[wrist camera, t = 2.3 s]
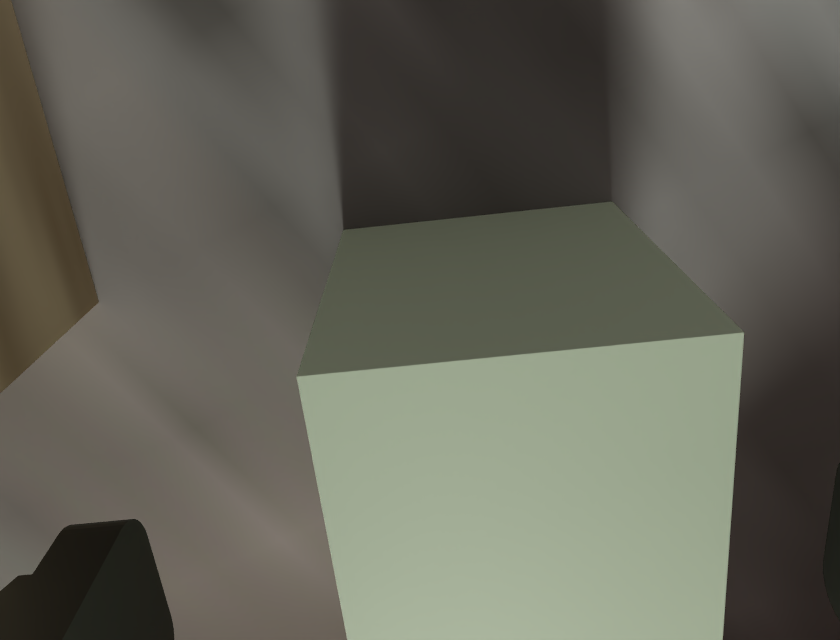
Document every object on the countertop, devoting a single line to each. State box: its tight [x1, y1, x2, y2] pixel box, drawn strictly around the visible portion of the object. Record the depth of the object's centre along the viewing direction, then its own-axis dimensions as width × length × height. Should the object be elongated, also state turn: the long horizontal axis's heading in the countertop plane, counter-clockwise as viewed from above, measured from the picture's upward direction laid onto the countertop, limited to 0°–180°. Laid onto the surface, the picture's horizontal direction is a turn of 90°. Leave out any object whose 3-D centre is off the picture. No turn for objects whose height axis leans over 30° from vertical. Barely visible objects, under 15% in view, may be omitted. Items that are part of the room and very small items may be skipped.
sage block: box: [297, 202, 744, 640], centre depth 12 cm, size 5×5×6 cm
